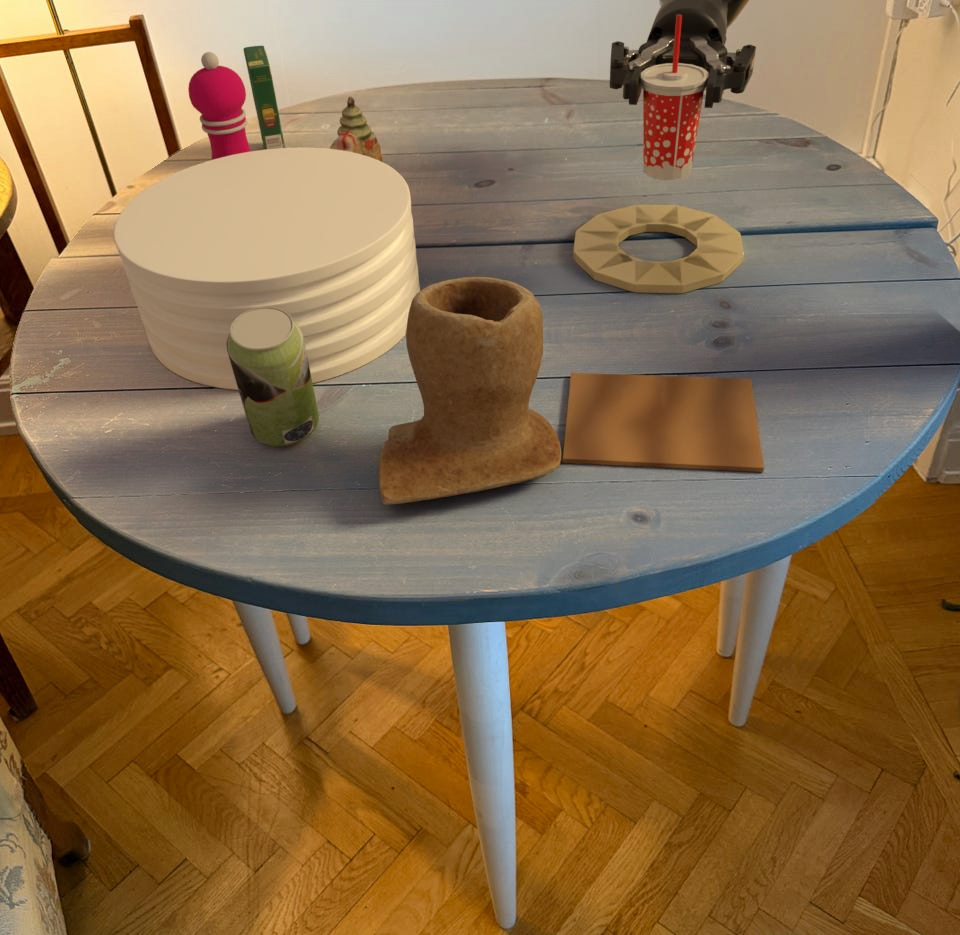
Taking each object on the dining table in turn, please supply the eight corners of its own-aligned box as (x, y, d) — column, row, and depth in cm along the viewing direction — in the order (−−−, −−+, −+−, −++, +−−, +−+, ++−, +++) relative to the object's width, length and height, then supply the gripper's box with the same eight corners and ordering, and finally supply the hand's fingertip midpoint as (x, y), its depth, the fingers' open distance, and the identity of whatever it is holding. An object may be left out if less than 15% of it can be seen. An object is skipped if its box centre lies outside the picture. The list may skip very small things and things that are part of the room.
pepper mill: (207, 227, 111) (160, 54, 98) (258, 207, 115) (220, 37, 102) (237, 247, 107) (193, 69, 94) (290, 226, 111) (255, 50, 97)
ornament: (371, 191, 117) (360, 111, 110) (324, 190, 118) (311, 110, 111) (387, 164, 122) (378, 87, 116) (342, 163, 123) (331, 87, 117)
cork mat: (750, 383, 83) (751, 378, 83) (763, 472, 74) (764, 467, 74) (570, 376, 85) (571, 372, 85) (562, 463, 76) (562, 458, 76)
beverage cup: (691, 154, 92) (705, 2, 83) (706, 180, 88) (723, 23, 78) (629, 159, 92) (637, 7, 83) (641, 186, 88) (651, 28, 78)
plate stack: (98, 380, 88) (56, 273, 81) (212, 239, 109) (187, 144, 101) (382, 400, 84) (365, 289, 76) (445, 249, 104) (437, 150, 97)
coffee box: (289, 164, 124) (270, 62, 116) (268, 167, 124) (246, 66, 115) (283, 142, 130) (264, 43, 121) (263, 145, 130) (242, 46, 121)
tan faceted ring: (735, 213, 107) (736, 205, 107) (748, 295, 94) (749, 286, 93) (578, 211, 110) (578, 203, 109) (569, 291, 96) (569, 282, 96)
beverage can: (307, 401, 84) (281, 285, 76) (336, 445, 79) (313, 326, 71) (240, 424, 82) (207, 307, 74) (266, 471, 77) (234, 352, 69)
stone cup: (537, 401, 83) (535, 249, 73) (574, 489, 74) (577, 329, 64) (367, 429, 81) (342, 277, 71) (385, 523, 72) (358, 364, 62)
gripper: (619, -6, 94) (592, 49, 82) (766, -4, 91) (760, 54, 79) (616, 70, 99) (590, 133, 87) (755, 75, 96) (748, 140, 84)
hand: (671, 95), depth 83 cm, fingers closed on beverage cup, 6 cm apart
